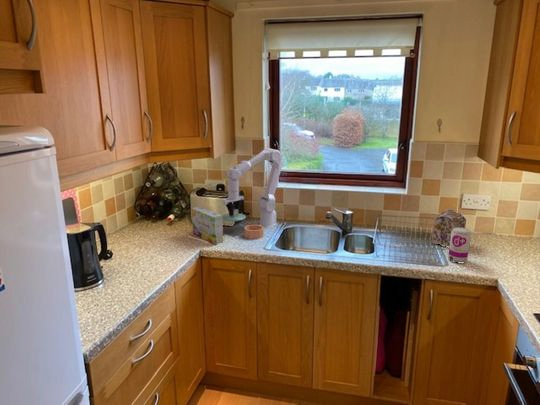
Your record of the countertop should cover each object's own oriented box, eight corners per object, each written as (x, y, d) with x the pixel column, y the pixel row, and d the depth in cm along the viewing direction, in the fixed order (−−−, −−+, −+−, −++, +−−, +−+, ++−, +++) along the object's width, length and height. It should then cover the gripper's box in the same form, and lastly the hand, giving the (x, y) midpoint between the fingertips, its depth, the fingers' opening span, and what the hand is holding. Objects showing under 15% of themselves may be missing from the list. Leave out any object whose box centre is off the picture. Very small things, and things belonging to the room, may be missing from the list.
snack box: (191, 234, 222) (190, 207, 218) (200, 232, 226) (200, 206, 222) (214, 245, 207) (214, 216, 203) (223, 243, 210) (223, 214, 207)
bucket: (252, 232, 227) (252, 223, 226) (267, 236, 221) (267, 227, 220) (240, 237, 219) (240, 228, 218) (255, 241, 213) (255, 232, 212)
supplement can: (464, 265, 186) (468, 234, 183) (445, 260, 192) (449, 230, 188) (469, 260, 192) (473, 229, 188) (451, 255, 198) (455, 225, 194)
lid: (233, 213, 236) (233, 205, 234) (250, 217, 228) (250, 209, 227) (216, 218, 226) (216, 209, 224) (234, 222, 218) (234, 214, 217)
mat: (233, 224, 239) (233, 223, 239) (253, 230, 231) (253, 229, 230) (213, 231, 227) (213, 230, 227) (234, 237, 218) (234, 236, 218)
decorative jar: (452, 249, 205) (457, 215, 200) (430, 243, 214) (434, 209, 209) (463, 244, 213) (468, 210, 208) (441, 238, 221) (445, 205, 217)
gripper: (237, 187, 231) (237, 210, 234) (218, 191, 220) (219, 216, 223) (246, 188, 227) (246, 212, 230) (228, 193, 215) (228, 218, 219)
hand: (233, 214), depth 226 cm, fingers closed on lid, 3 cm apart
